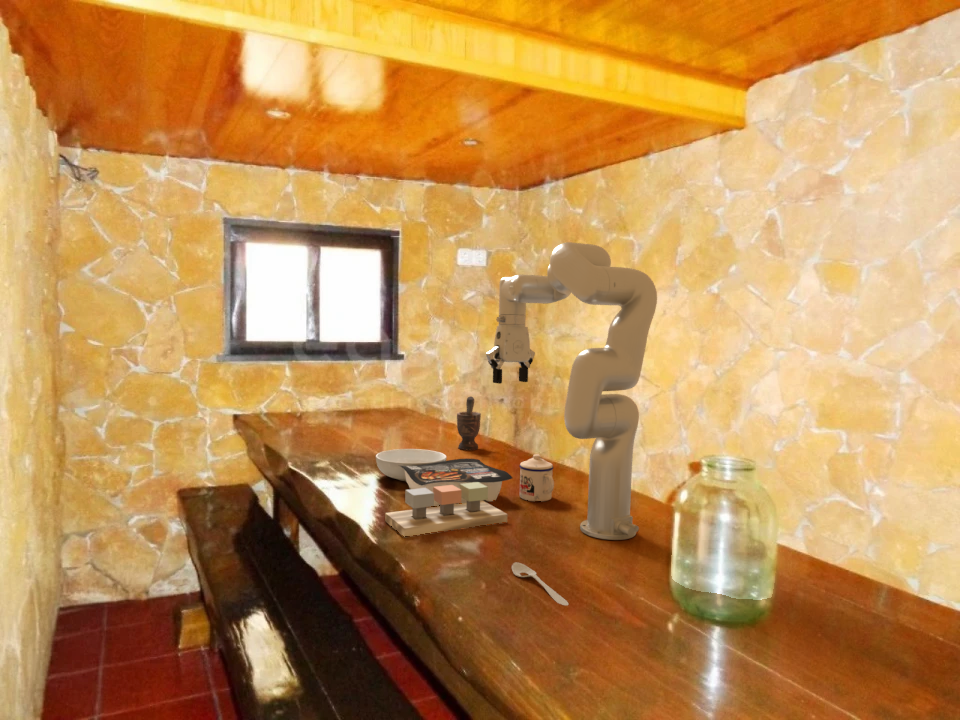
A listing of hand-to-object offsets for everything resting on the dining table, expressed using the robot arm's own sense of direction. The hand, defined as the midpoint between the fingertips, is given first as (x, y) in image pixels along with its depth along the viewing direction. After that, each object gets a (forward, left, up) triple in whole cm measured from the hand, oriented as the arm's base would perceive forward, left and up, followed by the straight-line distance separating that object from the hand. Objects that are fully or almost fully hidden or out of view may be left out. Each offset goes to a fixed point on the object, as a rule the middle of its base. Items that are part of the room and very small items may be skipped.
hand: (510, 382), depth 184 cm
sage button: (-21, +22, -28) cm, 41 cm away
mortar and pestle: (+51, -14, -30) cm, 61 cm away
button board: (-21, +29, -30) cm, 47 cm away
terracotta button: (-21, +29, -28) cm, 45 cm away
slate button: (-21, +36, -28) cm, 50 cm away
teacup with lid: (-13, -2, -30) cm, 33 cm away
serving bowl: (+21, +21, -30) cm, 43 cm away
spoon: (-62, +29, -31) cm, 75 cm away
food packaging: (-1, +18, -31) cm, 35 cm away
